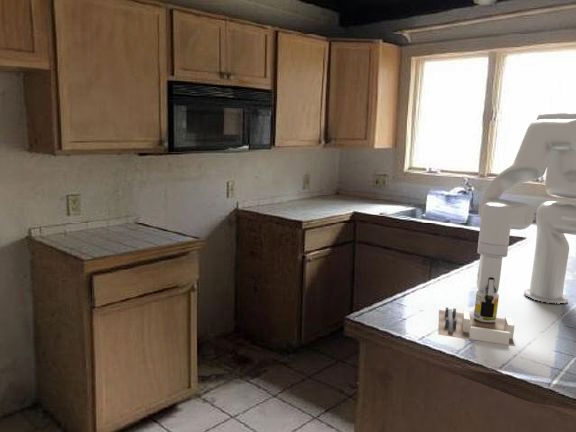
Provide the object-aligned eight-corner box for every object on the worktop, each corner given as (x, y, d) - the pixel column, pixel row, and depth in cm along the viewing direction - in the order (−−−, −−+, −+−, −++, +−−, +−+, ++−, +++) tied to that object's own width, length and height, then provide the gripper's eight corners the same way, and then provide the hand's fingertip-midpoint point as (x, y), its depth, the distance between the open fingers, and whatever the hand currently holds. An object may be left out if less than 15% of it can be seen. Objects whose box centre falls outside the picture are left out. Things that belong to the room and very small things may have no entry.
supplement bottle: (470, 318, 138) (474, 283, 136) (478, 313, 142) (482, 279, 141) (491, 324, 134) (495, 288, 133) (499, 319, 138) (503, 283, 137)
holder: (461, 323, 135) (463, 310, 135) (509, 330, 132) (511, 317, 131) (463, 338, 125) (464, 324, 125) (515, 345, 122) (516, 332, 121)
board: (438, 312, 145) (439, 309, 145) (505, 321, 140) (506, 319, 140) (438, 337, 127) (438, 334, 127) (514, 349, 122) (515, 345, 122)
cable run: (445, 312, 143) (445, 305, 143) (454, 313, 142) (455, 306, 142) (445, 333, 128) (445, 324, 128) (456, 334, 127) (457, 326, 127)
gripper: (475, 241, 144) (469, 301, 147) (479, 254, 128) (472, 321, 131) (504, 243, 142) (497, 304, 145) (511, 257, 126) (503, 326, 129)
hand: (485, 312), depth 138 cm, fingers closed on supplement bottle, 5 cm apart
